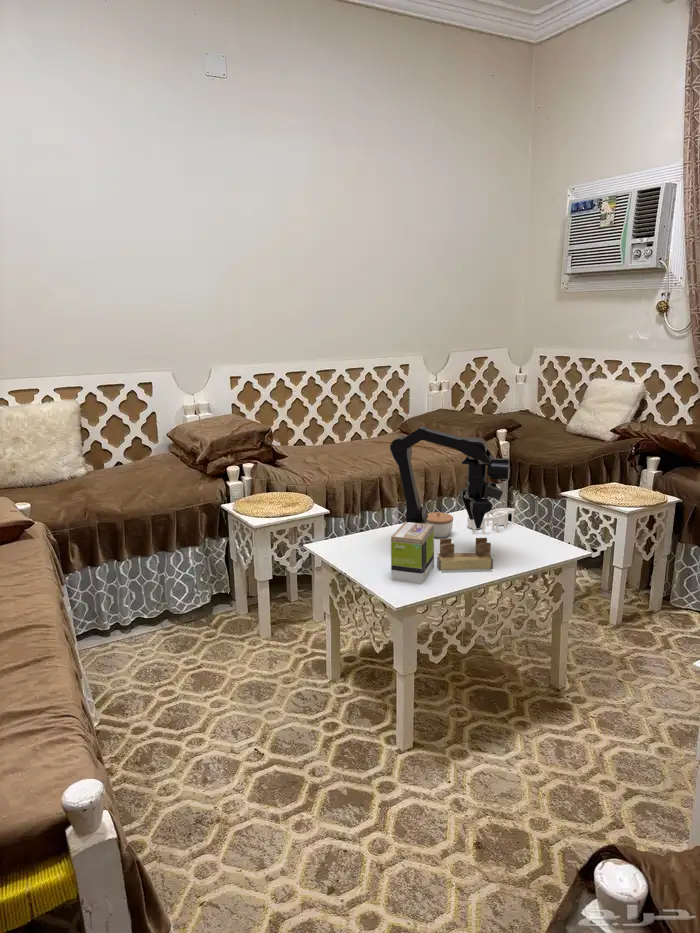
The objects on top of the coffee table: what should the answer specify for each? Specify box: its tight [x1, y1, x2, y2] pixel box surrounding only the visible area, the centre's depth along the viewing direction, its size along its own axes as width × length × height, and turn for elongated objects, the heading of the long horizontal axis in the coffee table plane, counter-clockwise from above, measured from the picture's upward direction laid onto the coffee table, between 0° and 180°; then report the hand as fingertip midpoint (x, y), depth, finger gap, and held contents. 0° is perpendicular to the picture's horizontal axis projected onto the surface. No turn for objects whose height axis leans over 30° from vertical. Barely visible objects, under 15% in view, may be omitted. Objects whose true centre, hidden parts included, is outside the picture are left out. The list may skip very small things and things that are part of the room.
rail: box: [436, 555, 494, 572], centre depth 207 cm, size 17×3×3 cm, turn 93°
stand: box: [437, 537, 492, 558], centre depth 215 cm, size 17×6×6 cm, turn 93°
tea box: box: [390, 521, 435, 585], centre depth 202 cm, size 15×10×15 cm
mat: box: [440, 569, 493, 574], centre depth 207 cm, size 16×7×1 cm, turn 93°
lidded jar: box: [426, 511, 454, 539], centre depth 236 cm, size 11×11×9 cm
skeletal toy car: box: [466, 507, 516, 536], centre depth 243 cm, size 20×11×7 cm, turn 111°
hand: (474, 523), depth 213 cm, fingers open, 9 cm apart
